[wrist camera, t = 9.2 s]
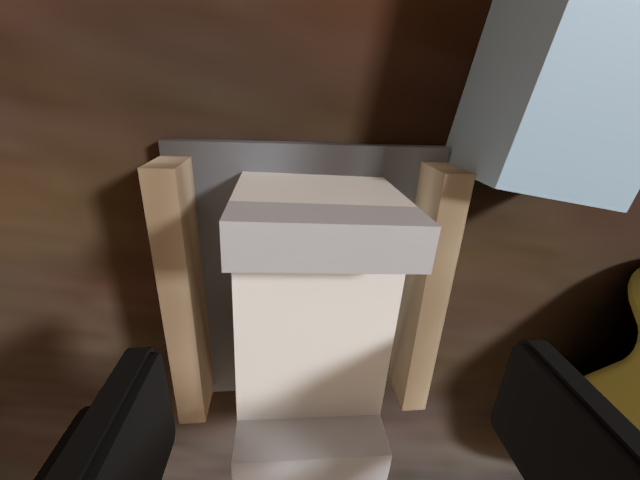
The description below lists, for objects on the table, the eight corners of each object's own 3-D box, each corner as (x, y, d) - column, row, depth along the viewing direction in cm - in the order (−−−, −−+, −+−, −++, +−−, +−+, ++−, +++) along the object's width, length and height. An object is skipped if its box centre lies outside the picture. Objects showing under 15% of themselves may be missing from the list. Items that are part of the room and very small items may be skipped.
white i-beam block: (383, 177, 13) (441, 227, 8) (356, 369, 16) (387, 480, 12) (242, 171, 12) (219, 221, 7) (246, 372, 16) (232, 490, 11)
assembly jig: (442, 145, 13) (479, 158, 11) (403, 372, 17) (422, 417, 15) (163, 138, 12) (133, 149, 10) (195, 382, 16) (180, 432, 14)
